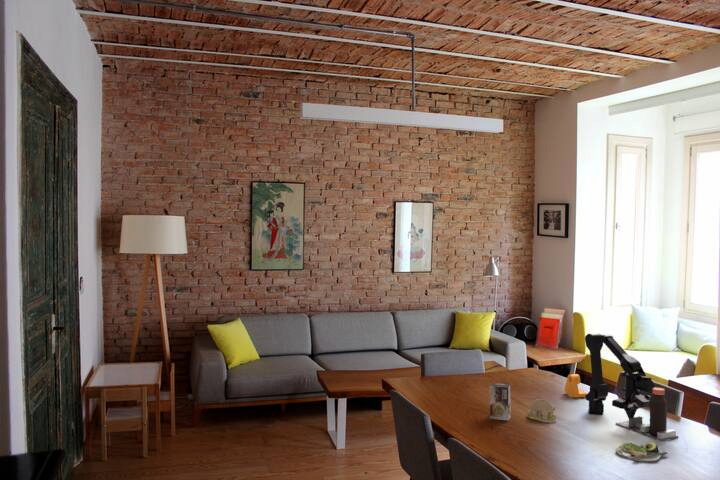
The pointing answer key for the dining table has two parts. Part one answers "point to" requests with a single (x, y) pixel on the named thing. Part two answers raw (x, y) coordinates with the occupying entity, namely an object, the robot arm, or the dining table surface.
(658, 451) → the salad plate
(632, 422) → the sliding jaw
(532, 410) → the ceramic model
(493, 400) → the coffee box
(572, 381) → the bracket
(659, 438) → the vise
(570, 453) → the dining table surface
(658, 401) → the vinegar
